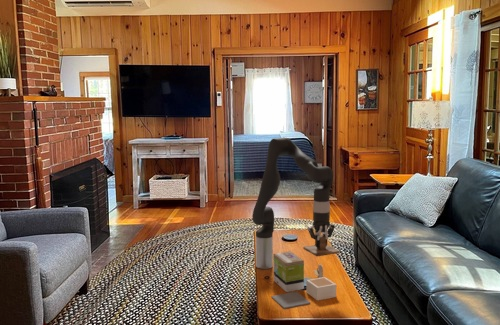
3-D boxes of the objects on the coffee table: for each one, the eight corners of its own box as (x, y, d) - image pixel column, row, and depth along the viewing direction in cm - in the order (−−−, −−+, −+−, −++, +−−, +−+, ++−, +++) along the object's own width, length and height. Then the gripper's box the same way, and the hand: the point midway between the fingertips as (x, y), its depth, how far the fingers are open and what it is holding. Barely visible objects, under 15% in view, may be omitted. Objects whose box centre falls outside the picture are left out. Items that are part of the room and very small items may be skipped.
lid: (303, 248, 206) (303, 234, 206) (325, 245, 211) (325, 231, 210) (316, 256, 195) (316, 241, 195) (339, 253, 200) (339, 238, 199)
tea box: (273, 281, 222) (272, 253, 221) (291, 278, 226) (290, 250, 224) (285, 292, 208) (285, 262, 207) (304, 289, 212) (304, 259, 210)
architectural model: (316, 282, 222) (316, 267, 221) (313, 276, 229) (313, 263, 228) (322, 281, 222) (322, 267, 221) (320, 276, 229) (320, 262, 228)
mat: (271, 297, 203) (271, 296, 203) (296, 292, 208) (296, 291, 208) (284, 308, 191) (284, 307, 191) (310, 303, 196) (310, 302, 196)
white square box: (306, 292, 208) (306, 280, 208) (324, 288, 212) (324, 276, 211) (317, 300, 199) (317, 287, 198) (336, 296, 203) (336, 284, 202)
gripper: (330, 207, 207) (329, 242, 209) (303, 210, 202) (303, 246, 204) (339, 210, 200) (338, 247, 202) (312, 213, 195) (311, 251, 197)
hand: (321, 246), depth 203 cm, fingers closed on lid, 3 cm apart
